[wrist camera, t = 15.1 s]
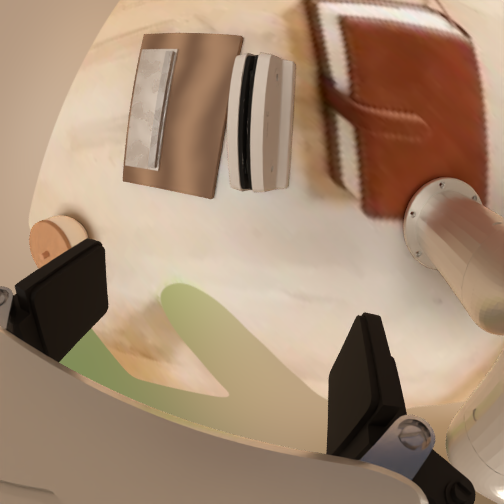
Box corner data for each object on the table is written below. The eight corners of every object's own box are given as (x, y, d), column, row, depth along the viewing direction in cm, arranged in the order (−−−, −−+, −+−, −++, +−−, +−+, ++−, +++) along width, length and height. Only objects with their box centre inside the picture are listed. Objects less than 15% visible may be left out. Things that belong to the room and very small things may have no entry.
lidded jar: (55, 248, 50) (23, 268, 42) (59, 198, 46) (22, 214, 37) (95, 273, 50) (63, 298, 42) (102, 222, 46) (65, 242, 37)
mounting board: (243, 38, 31) (241, 35, 30) (213, 197, 41) (211, 199, 39) (148, 36, 33) (144, 34, 32) (126, 179, 42) (122, 181, 41)
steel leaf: (178, 49, 32) (174, 47, 31) (159, 170, 39) (154, 172, 38) (143, 50, 33) (138, 48, 31) (126, 165, 40) (121, 166, 38)
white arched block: (288, 189, 38) (269, 207, 30) (252, 185, 40) (224, 202, 31) (295, 61, 32) (278, 39, 23) (258, 61, 33) (230, 41, 24)
